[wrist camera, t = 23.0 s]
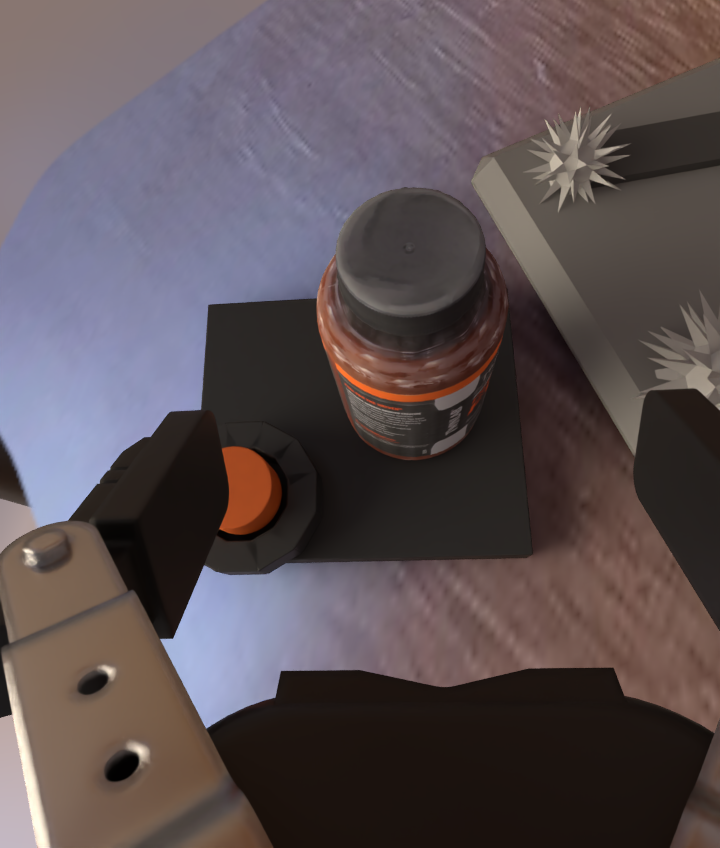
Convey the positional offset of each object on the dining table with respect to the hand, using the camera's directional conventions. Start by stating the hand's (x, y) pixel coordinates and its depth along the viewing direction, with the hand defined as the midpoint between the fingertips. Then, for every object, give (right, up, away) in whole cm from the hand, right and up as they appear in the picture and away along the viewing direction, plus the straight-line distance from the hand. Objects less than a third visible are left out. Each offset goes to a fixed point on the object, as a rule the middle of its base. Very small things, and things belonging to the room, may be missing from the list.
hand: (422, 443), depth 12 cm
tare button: (-6, -3, +13) cm, 15 cm away
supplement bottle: (+1, +1, +15) cm, 15 cm away
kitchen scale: (-1, 0, +16) cm, 16 cm away
